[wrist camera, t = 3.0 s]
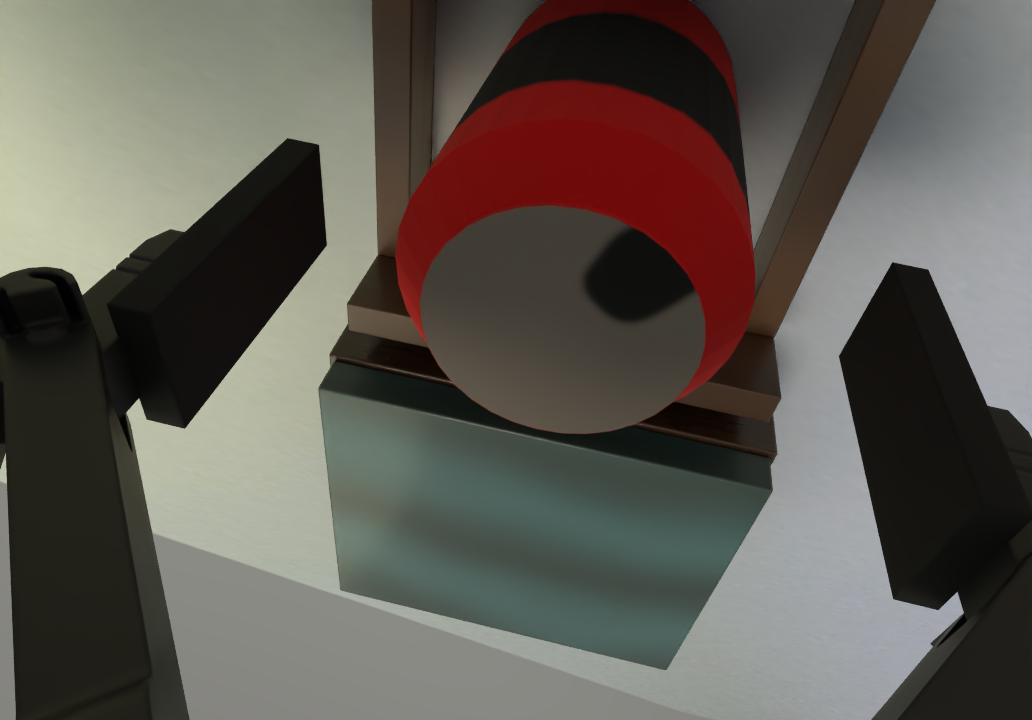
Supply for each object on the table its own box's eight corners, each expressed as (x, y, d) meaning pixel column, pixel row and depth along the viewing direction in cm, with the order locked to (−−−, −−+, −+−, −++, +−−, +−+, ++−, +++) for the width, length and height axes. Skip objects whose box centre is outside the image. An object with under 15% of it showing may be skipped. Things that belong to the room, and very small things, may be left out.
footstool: (380, 268, 29) (311, 382, 24) (767, 350, 28) (782, 488, 23) (384, 478, 38) (335, 592, 33) (673, 545, 37) (669, 674, 32)
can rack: (399, -217, 18) (313, -207, 14) (959, -126, 17) (1038, -87, 13) (399, 246, 28) (347, 331, 24) (758, 321, 27) (768, 423, 23)
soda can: (787, 105, 22) (847, 353, 13) (610, 247, 26) (564, 503, 17) (617, -91, 19) (545, 50, 10) (454, 103, 24) (308, 317, 15)
